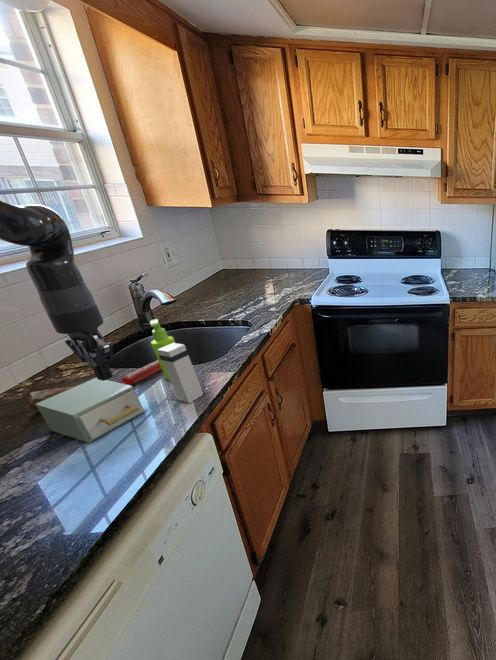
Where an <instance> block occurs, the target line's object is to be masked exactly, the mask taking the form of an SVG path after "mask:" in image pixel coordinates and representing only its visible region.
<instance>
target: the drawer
mask: <svg viewBox="0 0 496 660" xmlns="http://www.w3.org/2000/svg"><path fill="white" fill-rule="evenodd" d="M135 392H136V390H135V391H133V390H131V391H129V392H127V393H124V394H122V395H120V396H118V397H116V398H114V399H112V400H110V401H107V402H105V403H103V404H101V405H99V406H97V407H95V408H93V409H91V410H89V411H87V412H85V413H83V414H81V415H79V416H78V419H79V420H80V422H81V424H82V426H83V427H84V429H85V431H86V433H87V434H88V436H89V438H90V439H95V438H96V437H98V436H100V435H102V434H104V433H105V432H107V431H109V430H111V429H113V428H114V427H116V426H118V425H120V424H122V423H123V422H125V421H127V420H129V419H131V418H132V417H134V416H136V415H138V414H139V415H141V414H142V413H141V412H143V411H145V409H144V407H143V405H142V403H141V401H140V399H139V397H138V394H137V392H136V393H135ZM136 394H137V395H136ZM140 403H141V404H140ZM141 405H142V406H141ZM142 407H143V408H142ZM143 409H144V410H143ZM140 413H141V414H140ZM143 413H144V412H143ZM139 415H138V416H139ZM136 417H137V416H136ZM134 418H135V417H134ZM132 419H133V418H132ZM132 419H131V420H132ZM129 421H130V420H129ZM127 422H128V421H127ZM125 423H126V422H125ZM123 424H124V423H123ZM123 424H122V425H123ZM120 426H121V425H120ZM118 427H119V426H118ZM116 428H117V427H116ZM114 429H115V428H114ZM114 429H113V430H114ZM111 431H112V430H111ZM109 432H110V431H109ZM107 433H108V432H107ZM105 434H106V433H105ZM105 434H104V435H105ZM102 436H103V435H102ZM100 437H101V436H100ZM98 438H99V437H98ZM96 439H97V438H96ZM96 439H95V440H96Z"/></svg>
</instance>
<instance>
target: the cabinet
mask: <svg viewBox="0 0 496 660" xmlns="http://www.w3.org/2000/svg"><path fill="white" fill-rule="evenodd" d="M75 386H76V387H74V388H71V389H69V390H67V391H64V392H62V393H60V394H57V395H55V396H53V397H51V398H48V399H46V400H44V401H41V402H39V403H37V404H35V405H36V407H37V408H38V410H37V411H39V413H40V415H41V416H42V418H43V419H44V421H45V423H46V425H47V426H48V427H49V429H50V431H52V432H54V433H57V434H60V435H63V436H66V437H69V438H72V439H74V440H79V441H82V442H84V443H91V442H93V441H94V440H96V439H98V438H100V437H102V436H104V435H105V434H107V433H109V432H111V431H113V430H114V429H117V428H118V427H120V426H122V425H123V424H125V423H127V422H129V421H131V420H132V419H134V418H136V417H138V416H140V415H141V414H143V413H145V409H144V407H143V405H142V402H140V404H141V406H142V408H143V410H144V411H143V412H141V413H140V414H138V415H136V416H134V417H132V418H131V419H129V420H127V421H125V422H123V423H122V424H120V425H118V426H116V427H114V428H113V429H111V430H109V431H107V432H105V433H104V434H102V435H100V436H98V437H96V438H95V439H90V438H89V436H88V434H87V433H86V431H85V429H84V427H83V426H82V424H81V422H80V420H79V419H78V416H79V415H81V414H83V413H85V412H87V411H89V410H91V409H93V408H95V407H97V406H99V405H101V404H103V403H105V402H107V401H110V400H112V399H114V398H116V397H118V396H120V395H122V394H124V393H127V392H129V391H131V390H133V391H135V393H136V395H137V396H138V394H137V392H136V390H135V388H134V386H133V385H126V384H124V383H122V382H121V383H120V382H117V381H112V380H110V379H107V380H105V381H102V380H98V379H97V377H95V378H92V379H90V380H87V381H85V382H83V383H80V384H78V385H75Z"/></svg>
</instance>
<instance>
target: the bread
mask: <svg viewBox="0 0 496 660" xmlns="http://www.w3.org/2000/svg"><path fill="white" fill-rule="evenodd" d="M76 386H77V385H73V386H66V387H58V388H57V387H56V388H50V389H44V390H37V391H32V392H31V391H30V393H29V394H28V402H27V403H28V405H29V407H30V409H32V410H33V411H34V410H35V411H39V410H38V408H37V407H36V405H35V404H37V403H39V402H41V401H44V400H46V399H48V398H51V397H53V396H55V395H57V394H60V393H62V392H64V391H67V390H69V389H71V388H74V387H76Z"/></svg>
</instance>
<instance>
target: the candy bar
mask: <svg viewBox="0 0 496 660" xmlns="http://www.w3.org/2000/svg"><path fill="white" fill-rule="evenodd" d="M160 371H163V370H162V368H161V366H160V363H159V361H158V359H156V360H155V361H152V362H150V363H148V364H146V365H144V366H142V367H140V368H138V369H136V370H134V371H132V372H130V373H128V374H126V375H125V376H123V377H122V380H120V382H121V383H122V384H126V385H130V386H133V385H135V384H138V383H139V382H141V381H143V380H145V379H147V378H149V377H151V376H153V375H155V374H157V373H159V372H160Z"/></svg>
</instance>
